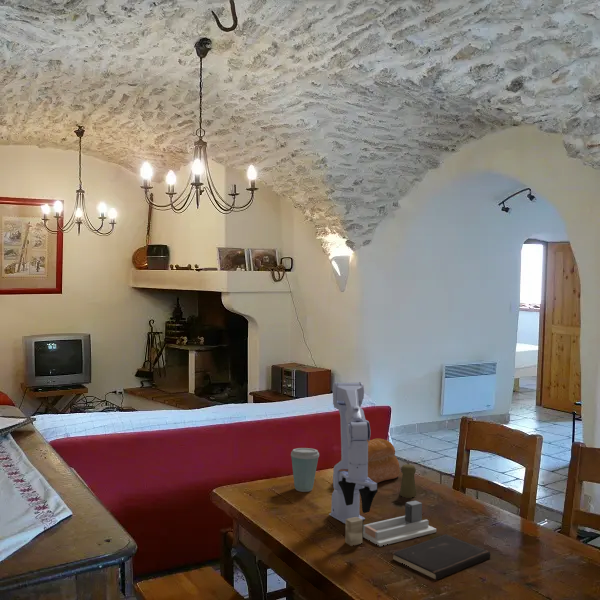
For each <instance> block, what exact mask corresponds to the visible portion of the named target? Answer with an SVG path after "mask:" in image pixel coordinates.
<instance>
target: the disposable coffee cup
mask: <svg viewBox="0 0 600 600" xmlns="http://www.w3.org/2000/svg"><path fill="white" fill-rule="evenodd" d="M290 457H291V465H292V467H291V468H292V477H293V485H294V488H295V491H298V492H303V493H306V492H307V493H308V492H311V491H312V490H313V488H314V483H315V477H316V473H317V466H318V461H319V457H320V452H319V450H318V449H315V448H312V447H310V448H308V447H297V448H293V449H292V450H291V452H290Z"/></svg>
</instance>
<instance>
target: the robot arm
mask: <svg viewBox="0 0 600 600" xmlns="http://www.w3.org/2000/svg"><path fill="white" fill-rule="evenodd" d="M364 386H365V385H364V384H363V382H361V381H359V382H346V381H345V382H343V381H342V382H341V381H340V382H338V381H335V382H333V384H332V405H333V407H334V409H337V410H338V411H339V415H340V416H339V417H340V447H341V448H340V451H341V452H340V457H341V456H342V460H341V459H340V460H341V461H339V462H338V463H336V464H334V467H333V470H332V471H333V473H332V486H333V489H334V490H333V491H332V493H331V510H330V513H328V515H329V516H331V517H333V519H335V520H338V521H340V522H341V523H343V524H345V525H346V519H348V518H353V517H358V518H360V519H362V520H363V521H364V520H365V519H366V518H365V517H364V516H362V515H360V503H361V509H362V513H363V514H366V513H369V512H370V511H371V506H372V503H373V500H374V498H375V497H376V494H377V493H378V491H379V489H378V483H375V482H374V481H372V480H371V479H370V478H369V477H368V441H370V440H371V426H370V424H371V423H370V422H369V420H367V419H366V416H365V411H364V409H363V408H362V405H363V401H364V397H365V388H364ZM367 440H368V441H367ZM340 469H348V471H339V470H340ZM360 499H361V502H360Z"/></svg>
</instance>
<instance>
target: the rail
mask: <svg viewBox="0 0 600 600" xmlns="http://www.w3.org/2000/svg"><path fill="white" fill-rule="evenodd" d="M429 523H430V522H429V520H428V519H423V502H420V501H418V500H411V501H407V502H405V506H404V515H402V516H401V515H400V516H396V517H393V518H392V517H391V518H388V519H384V520H379V521H376V522H370V523H367V524H363V538H364V539H366V540H367V541H369V540H370V541H369V542H371V543H373V544H375V545H376V544H377V546H378V545H379V546H378V547H383V545H384V546H388V545H391V544H395V543H400V542H403V541H406V540H411V539H414V538H417V537H423V536H426V535H431V534H435V533H437V528H435V527H433V526H432V525H429ZM387 544H388V545H387Z"/></svg>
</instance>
